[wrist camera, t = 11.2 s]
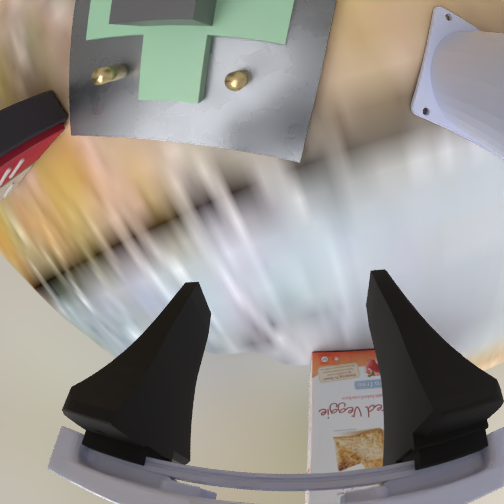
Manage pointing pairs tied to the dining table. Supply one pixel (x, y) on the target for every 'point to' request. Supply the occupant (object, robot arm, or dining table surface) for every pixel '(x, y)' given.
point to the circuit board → (185, 36)
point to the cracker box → (344, 417)
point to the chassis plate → (206, 88)
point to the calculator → (27, 136)
